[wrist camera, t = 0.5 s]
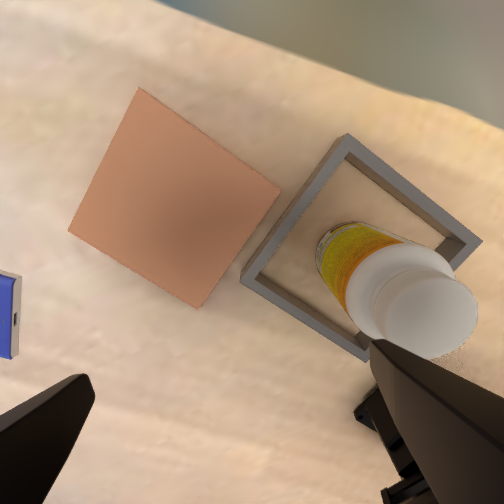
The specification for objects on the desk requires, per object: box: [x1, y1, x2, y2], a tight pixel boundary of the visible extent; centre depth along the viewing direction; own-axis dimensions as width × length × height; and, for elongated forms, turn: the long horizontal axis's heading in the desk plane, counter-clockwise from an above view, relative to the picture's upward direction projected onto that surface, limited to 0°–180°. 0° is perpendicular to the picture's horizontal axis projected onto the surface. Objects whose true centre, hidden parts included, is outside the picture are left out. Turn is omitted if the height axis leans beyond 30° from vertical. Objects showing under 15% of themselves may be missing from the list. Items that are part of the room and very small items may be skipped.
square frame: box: [240, 133, 483, 363], centre depth 20 cm, size 13×13×2 cm
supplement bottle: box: [316, 222, 478, 359], centre depth 16 cm, size 6×6×10 cm
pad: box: [67, 87, 282, 310], centre depth 20 cm, size 12×12×1 cm
